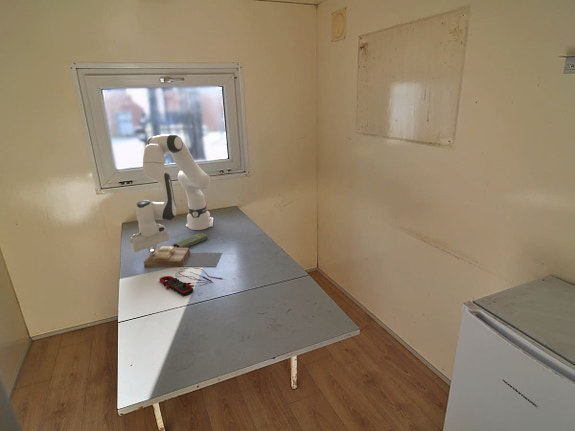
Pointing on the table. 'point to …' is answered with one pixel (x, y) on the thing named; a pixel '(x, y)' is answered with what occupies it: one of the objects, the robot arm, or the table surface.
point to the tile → (164, 252)
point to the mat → (202, 260)
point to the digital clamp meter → (181, 283)
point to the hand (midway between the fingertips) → (152, 253)
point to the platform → (173, 261)
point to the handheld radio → (190, 240)
